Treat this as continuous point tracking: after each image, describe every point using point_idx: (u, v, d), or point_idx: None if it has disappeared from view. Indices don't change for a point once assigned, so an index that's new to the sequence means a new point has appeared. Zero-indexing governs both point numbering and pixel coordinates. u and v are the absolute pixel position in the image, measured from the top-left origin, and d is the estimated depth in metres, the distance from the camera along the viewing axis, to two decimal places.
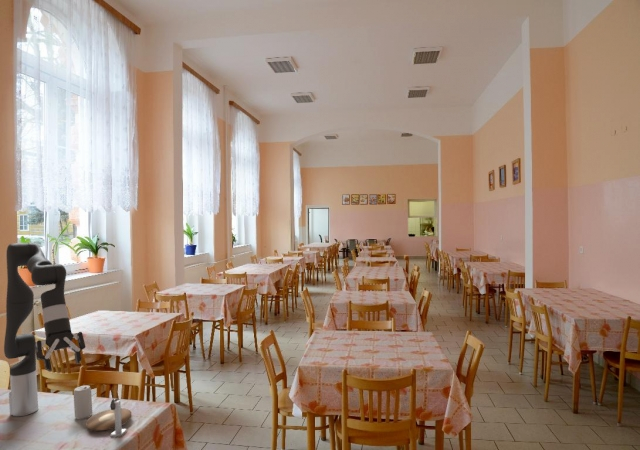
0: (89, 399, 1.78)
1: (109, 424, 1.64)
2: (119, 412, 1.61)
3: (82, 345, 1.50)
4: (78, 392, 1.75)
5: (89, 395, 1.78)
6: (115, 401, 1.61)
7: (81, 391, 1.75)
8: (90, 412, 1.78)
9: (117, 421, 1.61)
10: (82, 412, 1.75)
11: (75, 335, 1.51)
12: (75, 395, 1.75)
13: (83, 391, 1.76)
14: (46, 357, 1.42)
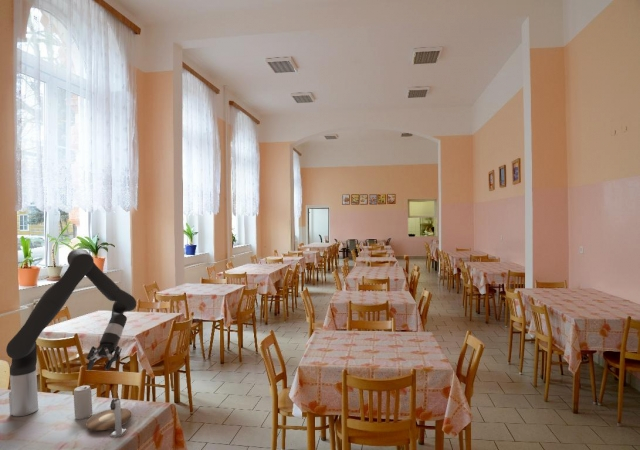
0: (89, 399, 1.78)
1: (109, 424, 1.64)
2: (119, 412, 1.61)
3: None
4: (78, 392, 1.75)
5: (89, 395, 1.78)
6: (115, 401, 1.61)
7: (81, 391, 1.75)
8: (90, 412, 1.78)
9: (117, 421, 1.61)
10: (82, 412, 1.75)
11: None
12: (75, 395, 1.75)
13: (83, 391, 1.76)
14: None
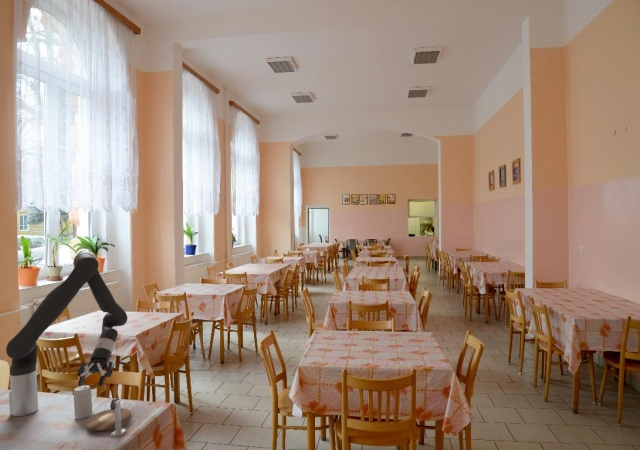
0: (89, 399, 1.78)
1: (109, 424, 1.64)
2: (119, 412, 1.61)
3: None
4: (78, 392, 1.75)
5: (89, 395, 1.78)
6: (115, 401, 1.61)
7: (81, 391, 1.75)
8: (90, 412, 1.78)
9: (117, 421, 1.61)
10: (82, 412, 1.75)
11: None
12: (75, 395, 1.75)
13: (83, 391, 1.76)
14: None
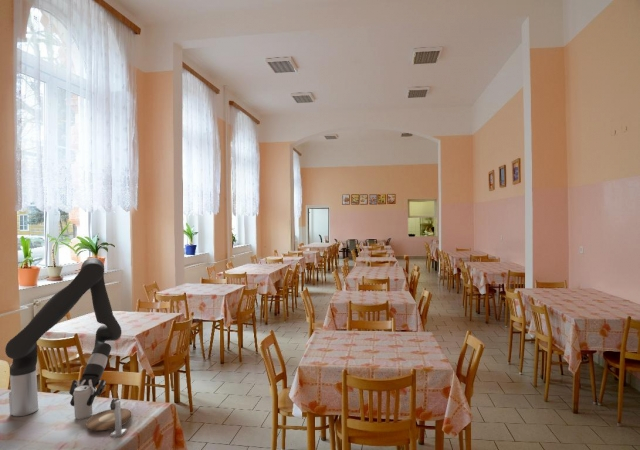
0: None
1: (109, 424, 1.64)
2: (119, 412, 1.61)
3: None
4: (78, 392, 1.75)
5: (89, 395, 1.78)
6: (115, 401, 1.61)
7: (81, 391, 1.75)
8: (90, 412, 1.78)
9: (117, 421, 1.61)
10: (82, 412, 1.75)
11: None
12: (75, 395, 1.75)
13: (83, 391, 1.76)
14: None
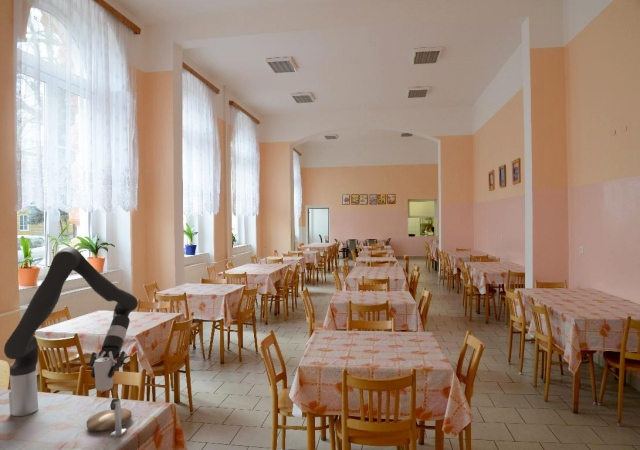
0: None
1: (109, 424, 1.64)
2: (119, 412, 1.61)
3: None
4: (99, 363, 1.69)
5: (110, 366, 1.72)
6: (115, 401, 1.61)
7: (102, 362, 1.69)
8: (111, 384, 1.72)
9: (117, 421, 1.61)
10: (103, 384, 1.69)
11: None
12: (96, 366, 1.69)
13: (104, 362, 1.70)
14: None
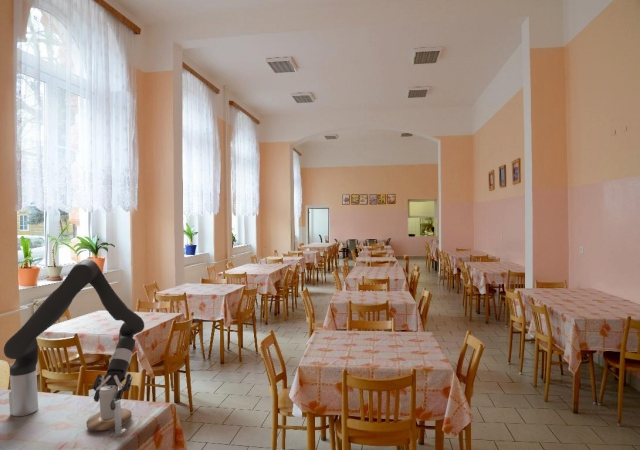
0: None
1: (109, 424, 1.64)
2: (119, 412, 1.61)
3: None
4: (104, 392, 1.68)
5: (115, 395, 1.70)
6: (115, 401, 1.61)
7: (107, 390, 1.68)
8: None
9: (117, 421, 1.61)
10: (109, 412, 1.68)
11: None
12: (101, 395, 1.68)
13: (109, 390, 1.68)
14: None
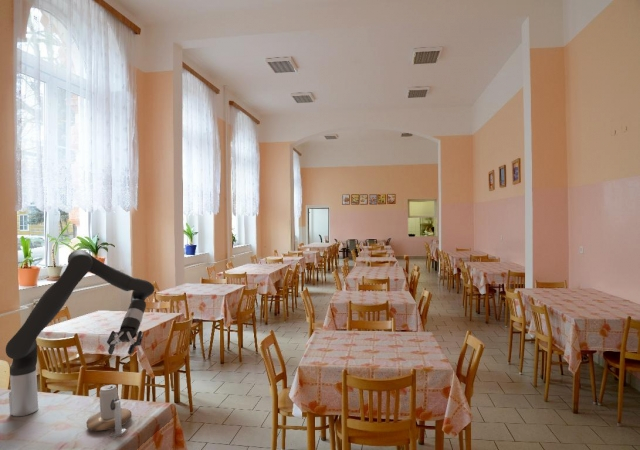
0: None
1: (109, 424, 1.64)
2: (119, 412, 1.61)
3: None
4: (104, 392, 1.68)
5: (115, 395, 1.70)
6: (115, 401, 1.61)
7: (107, 390, 1.68)
8: None
9: (117, 421, 1.61)
10: (109, 412, 1.68)
11: None
12: (101, 395, 1.68)
13: (110, 390, 1.68)
14: None
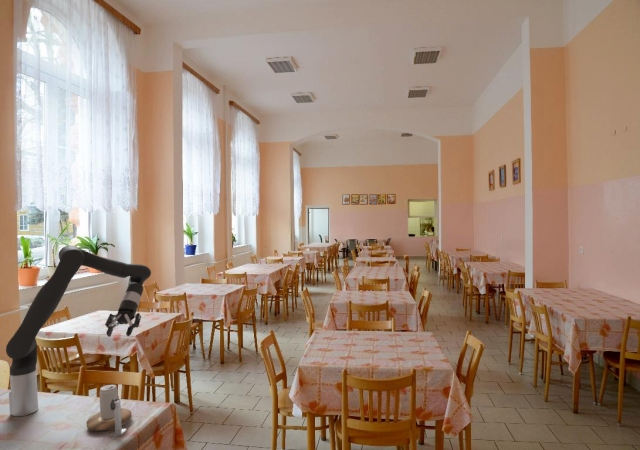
0: None
1: (109, 424, 1.64)
2: (119, 412, 1.61)
3: None
4: (104, 391, 1.68)
5: (115, 395, 1.70)
6: (115, 401, 1.61)
7: (108, 390, 1.68)
8: None
9: (117, 421, 1.61)
10: (109, 412, 1.68)
11: None
12: (101, 395, 1.68)
13: (110, 390, 1.68)
14: None
